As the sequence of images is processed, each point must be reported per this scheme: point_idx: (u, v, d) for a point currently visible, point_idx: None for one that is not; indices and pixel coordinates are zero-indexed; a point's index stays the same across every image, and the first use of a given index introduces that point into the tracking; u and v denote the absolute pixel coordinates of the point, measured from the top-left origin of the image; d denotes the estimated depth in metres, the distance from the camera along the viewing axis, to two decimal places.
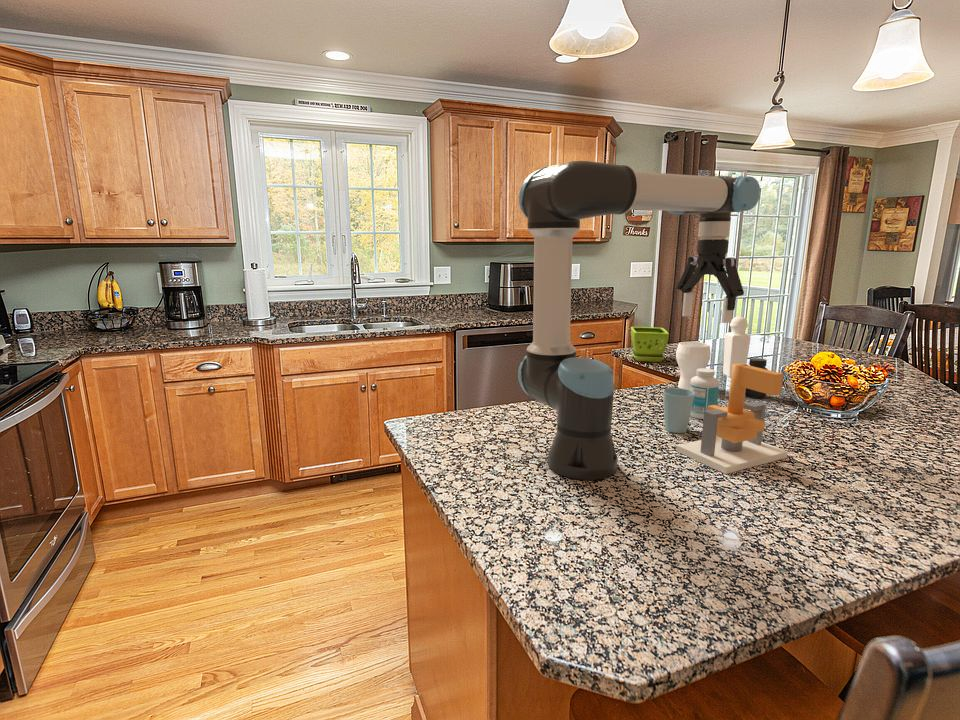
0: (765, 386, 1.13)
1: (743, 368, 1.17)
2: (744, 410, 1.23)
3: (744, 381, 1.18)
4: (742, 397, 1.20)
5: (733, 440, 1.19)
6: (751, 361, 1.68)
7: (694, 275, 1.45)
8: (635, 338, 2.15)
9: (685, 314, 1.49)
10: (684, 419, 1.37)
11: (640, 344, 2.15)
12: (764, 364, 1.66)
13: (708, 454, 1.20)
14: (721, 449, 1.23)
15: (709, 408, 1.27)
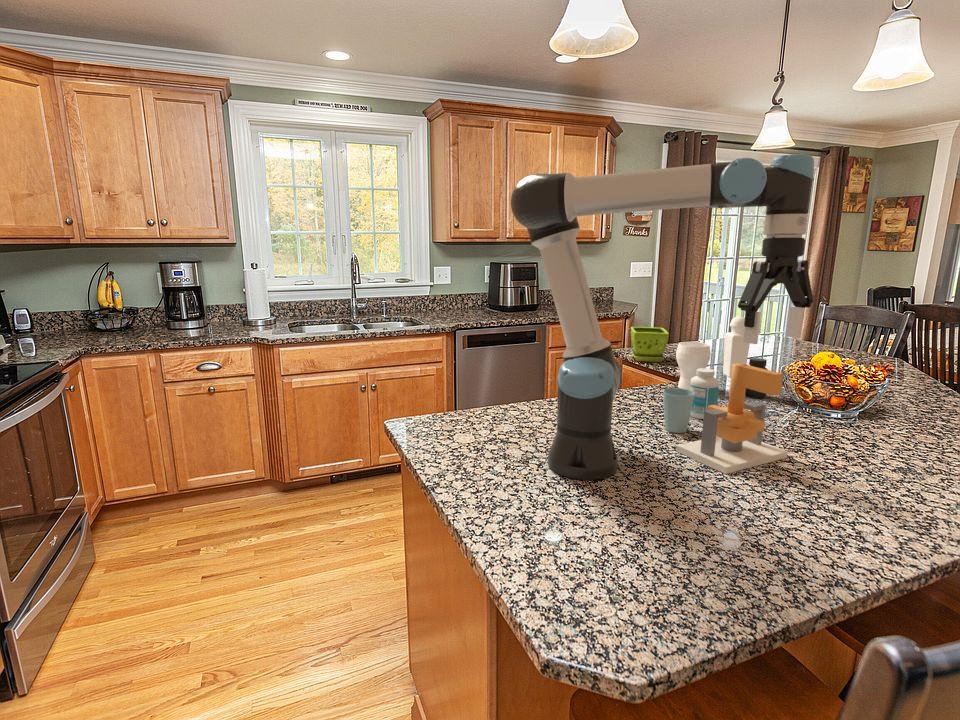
0: (765, 386, 1.13)
1: (743, 368, 1.17)
2: (744, 410, 1.23)
3: (744, 381, 1.18)
4: (742, 397, 1.20)
5: (733, 440, 1.19)
6: (751, 361, 1.68)
7: None
8: (635, 338, 2.15)
9: (788, 334, 1.15)
10: (684, 419, 1.37)
11: (640, 344, 2.15)
12: (764, 364, 1.66)
13: (708, 454, 1.20)
14: (721, 449, 1.23)
15: (709, 408, 1.27)
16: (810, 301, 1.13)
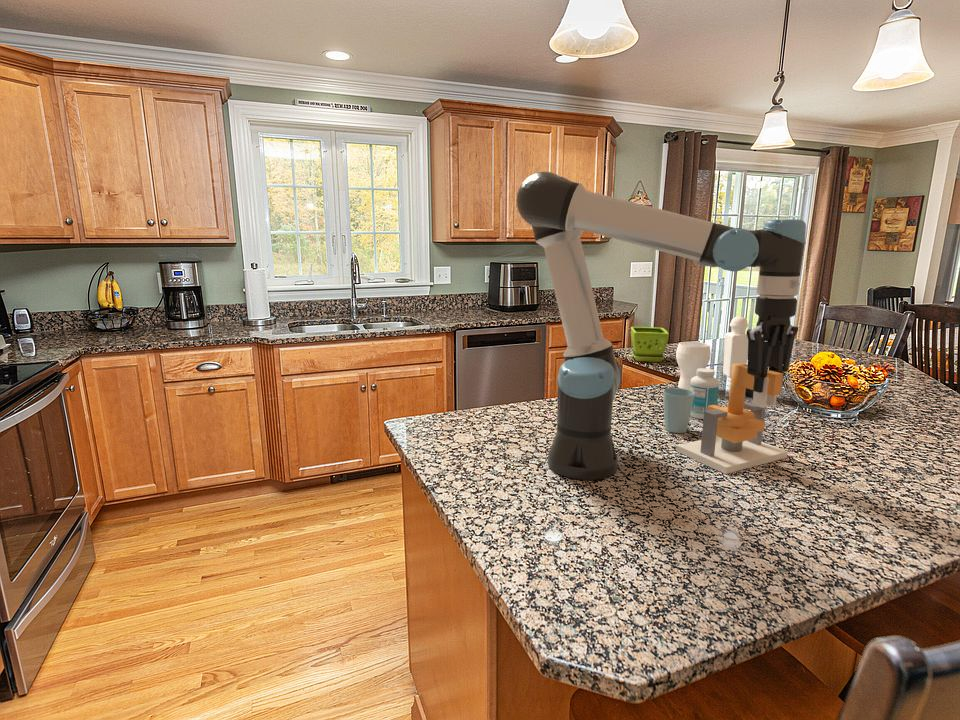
0: None
1: (743, 368, 1.17)
2: (744, 410, 1.23)
3: (744, 381, 1.18)
4: (742, 397, 1.20)
5: (733, 440, 1.19)
6: None
7: None
8: (635, 338, 2.15)
9: None
10: (684, 419, 1.37)
11: (640, 344, 2.15)
12: None
13: (708, 454, 1.20)
14: (721, 449, 1.23)
15: (709, 408, 1.27)
16: (785, 368, 1.14)
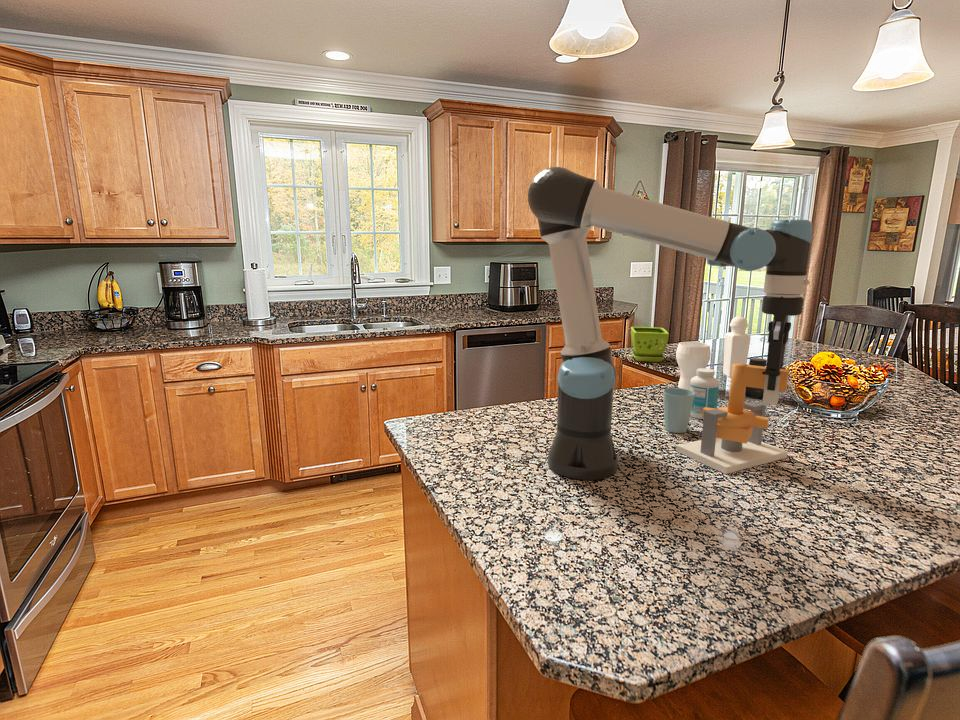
0: None
1: (748, 368, 1.18)
2: None
3: (749, 381, 1.18)
4: (744, 397, 1.20)
5: (744, 441, 1.19)
6: (751, 361, 1.68)
7: None
8: (635, 338, 2.15)
9: None
10: (684, 419, 1.37)
11: (640, 344, 2.15)
12: (764, 364, 1.66)
13: (708, 454, 1.20)
14: (721, 449, 1.23)
15: None
16: (782, 364, 1.18)
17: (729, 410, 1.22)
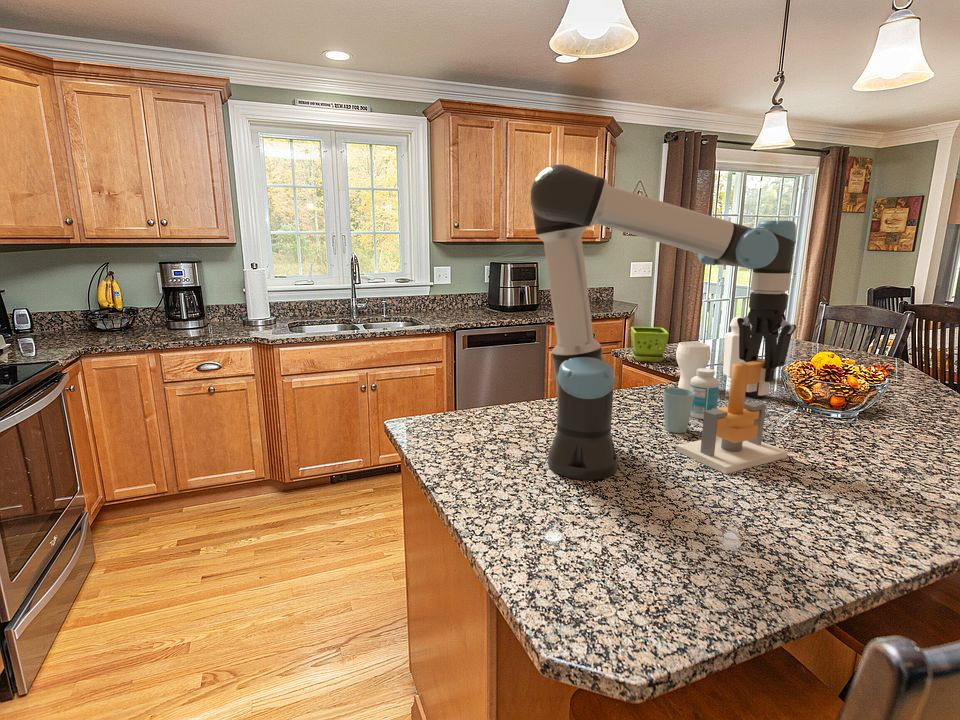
0: None
1: (750, 366, 1.19)
2: (723, 408, 1.25)
3: (750, 378, 1.20)
4: None
5: (755, 436, 1.21)
6: None
7: (753, 338, 1.22)
8: (635, 338, 2.15)
9: (750, 390, 1.25)
10: (684, 419, 1.37)
11: (640, 344, 2.15)
12: None
13: (708, 454, 1.20)
14: (721, 449, 1.23)
15: (719, 420, 1.19)
16: None
17: (736, 412, 1.20)
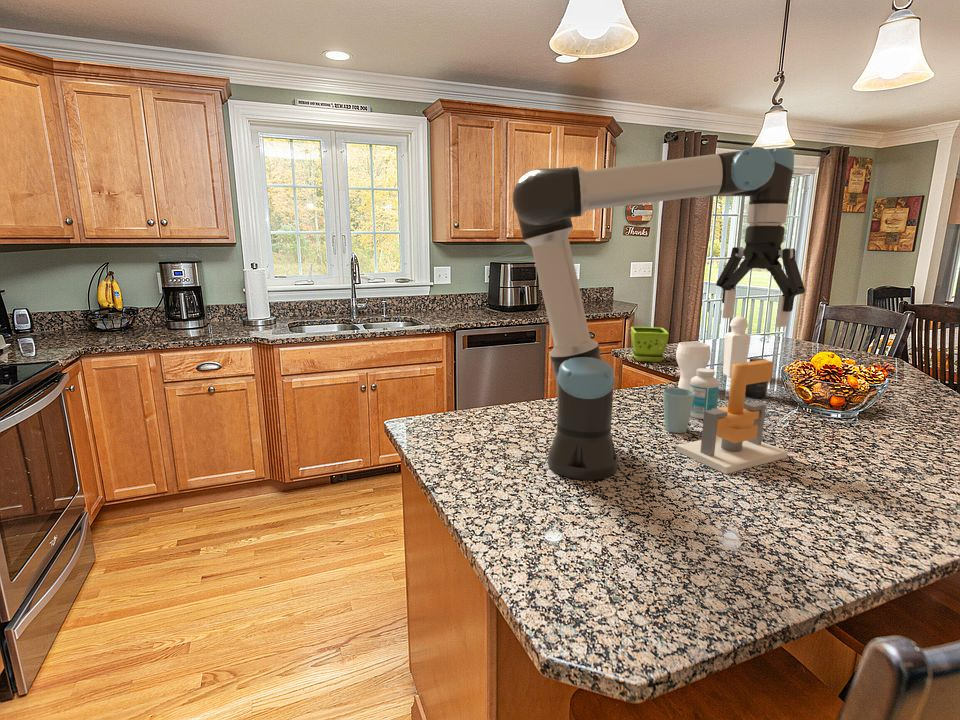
0: (766, 375, 1.22)
1: (750, 366, 1.19)
2: (723, 408, 1.25)
3: (750, 378, 1.20)
4: None
5: (755, 436, 1.21)
6: None
7: (740, 269, 1.21)
8: (635, 338, 2.15)
9: (726, 316, 1.25)
10: (684, 419, 1.37)
11: (640, 344, 2.15)
12: None
13: (708, 454, 1.20)
14: (721, 449, 1.23)
15: (719, 420, 1.19)
16: None
17: (736, 412, 1.20)
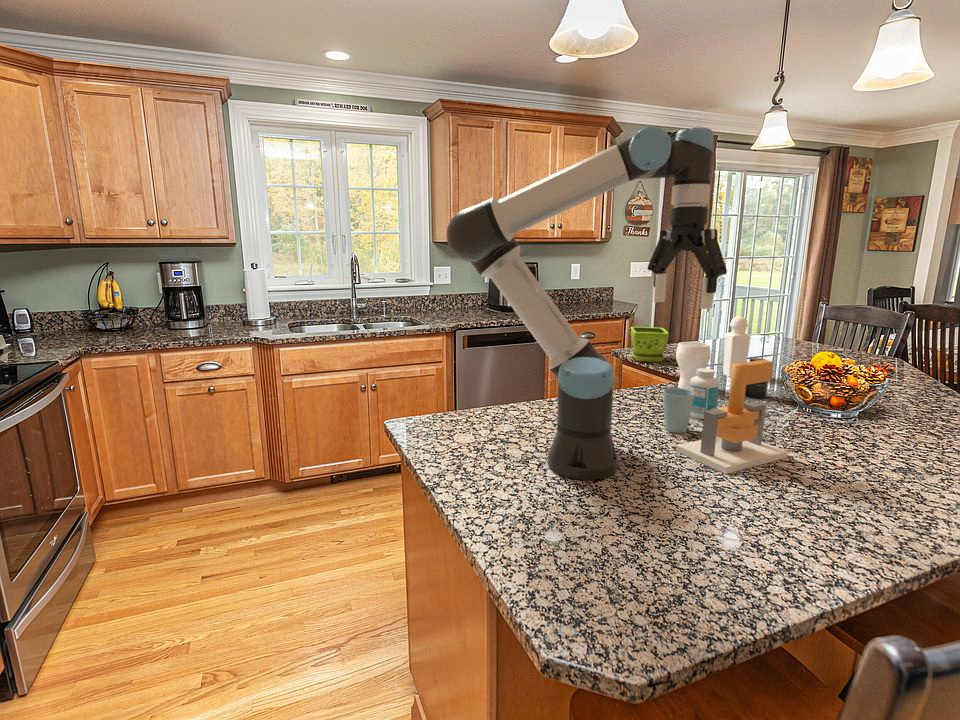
0: (766, 375, 1.22)
1: (750, 366, 1.19)
2: (723, 408, 1.25)
3: (750, 378, 1.20)
4: None
5: (755, 436, 1.21)
6: None
7: (667, 252, 1.20)
8: (635, 338, 2.15)
9: (657, 300, 1.24)
10: (684, 419, 1.37)
11: (640, 344, 2.15)
12: None
13: (708, 454, 1.20)
14: (721, 449, 1.23)
15: (719, 420, 1.19)
16: None
17: (736, 412, 1.20)
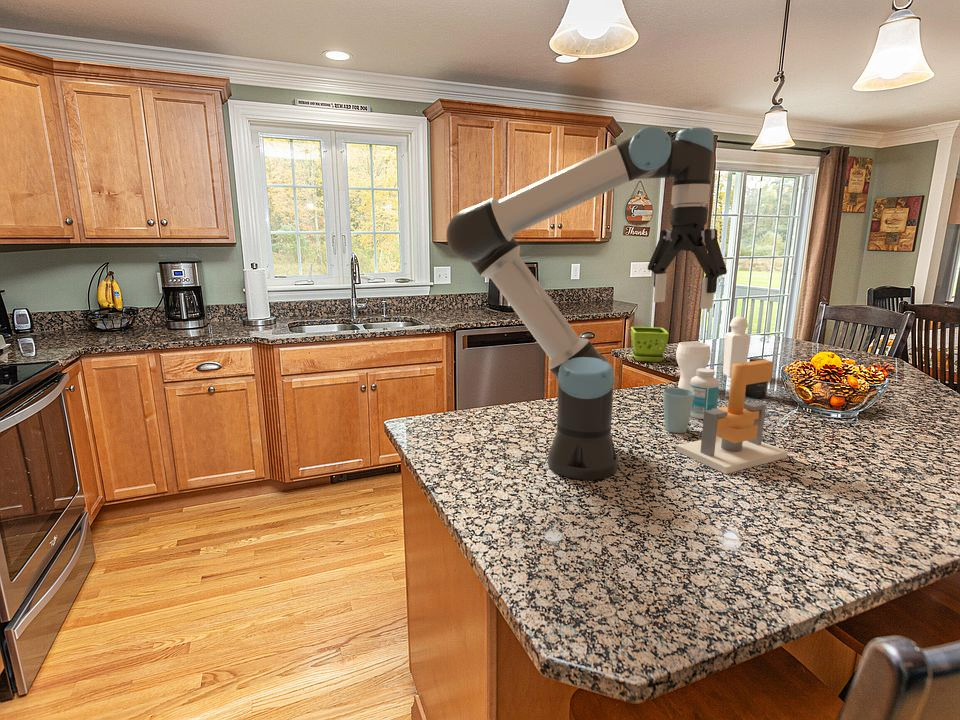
0: (766, 375, 1.22)
1: (750, 366, 1.19)
2: (723, 408, 1.25)
3: (750, 378, 1.20)
4: None
5: (755, 436, 1.21)
6: None
7: (667, 252, 1.20)
8: (635, 338, 2.15)
9: (657, 300, 1.24)
10: (684, 419, 1.37)
11: (640, 344, 2.15)
12: None
13: (708, 454, 1.20)
14: (721, 449, 1.23)
15: (719, 420, 1.19)
16: None
17: (736, 412, 1.20)
